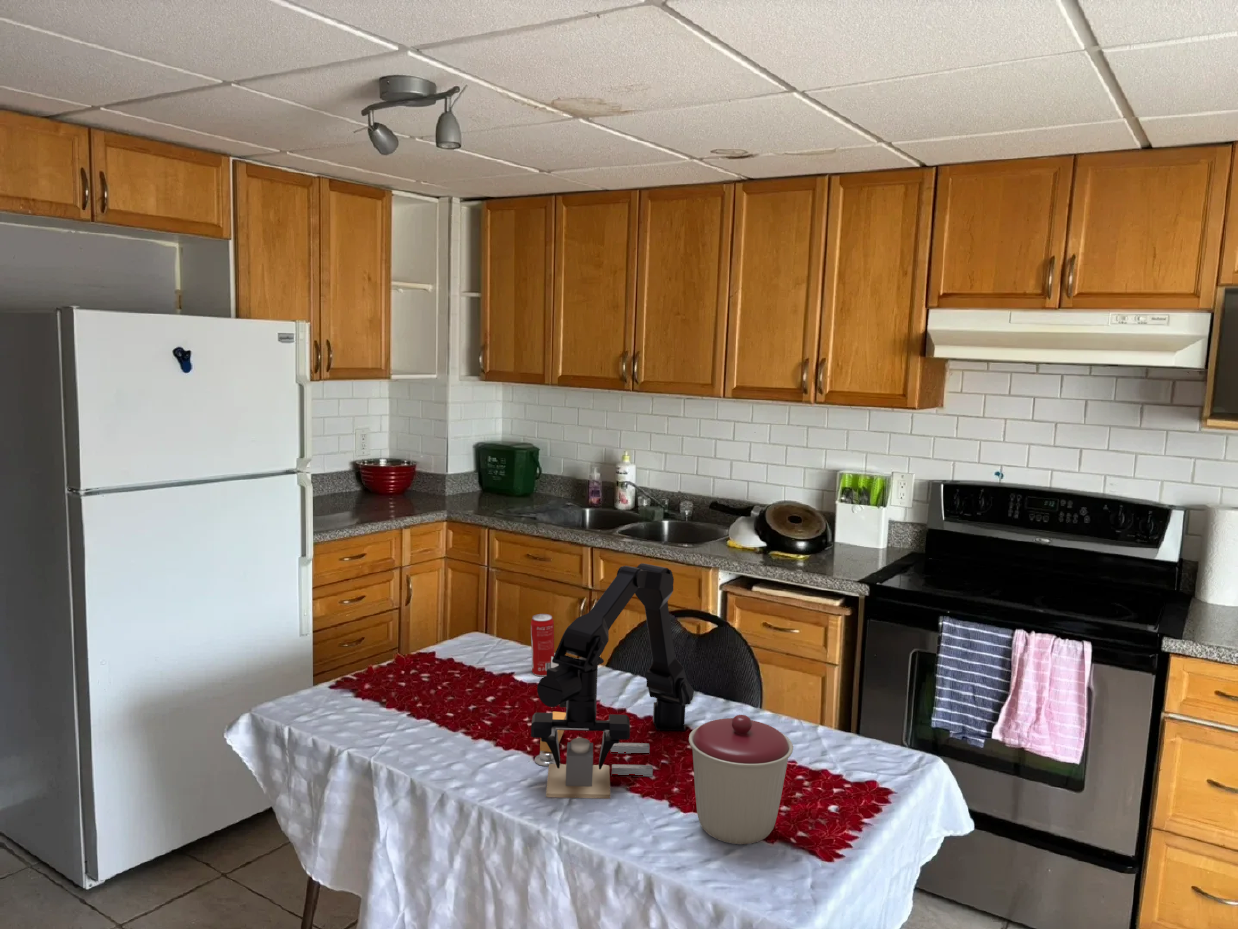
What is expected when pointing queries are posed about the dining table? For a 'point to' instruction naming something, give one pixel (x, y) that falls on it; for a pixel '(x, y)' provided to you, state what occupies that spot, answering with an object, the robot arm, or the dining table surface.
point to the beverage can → (542, 643)
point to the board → (560, 790)
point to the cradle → (645, 770)
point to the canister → (738, 777)
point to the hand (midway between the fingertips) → (579, 768)
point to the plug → (579, 762)
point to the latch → (560, 732)
